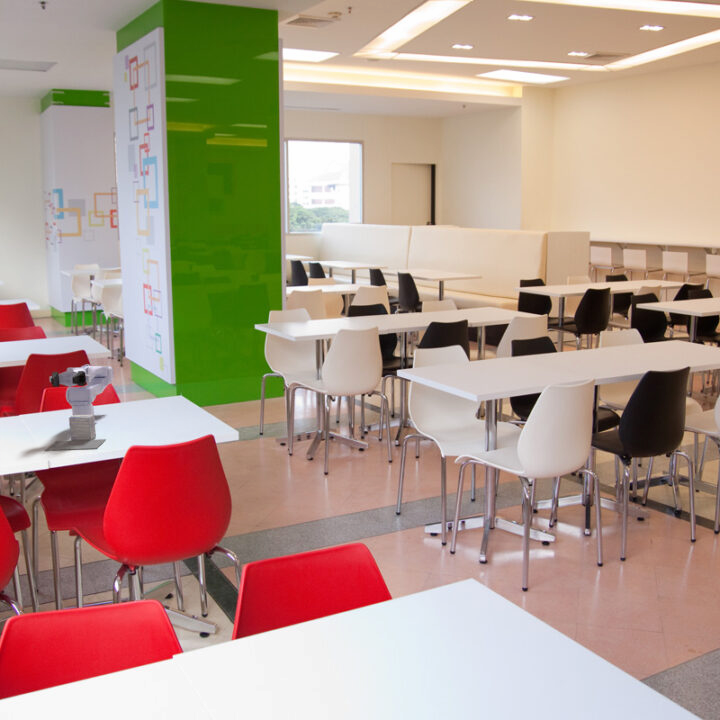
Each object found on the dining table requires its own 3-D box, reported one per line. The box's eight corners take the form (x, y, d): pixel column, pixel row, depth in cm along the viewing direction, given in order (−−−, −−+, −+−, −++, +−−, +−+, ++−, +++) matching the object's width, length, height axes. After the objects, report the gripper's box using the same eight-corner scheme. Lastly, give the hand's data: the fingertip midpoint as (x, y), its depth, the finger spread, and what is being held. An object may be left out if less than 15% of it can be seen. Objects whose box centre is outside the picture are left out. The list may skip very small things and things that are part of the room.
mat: (56, 441, 302) (56, 441, 302) (106, 440, 303) (105, 439, 303) (44, 450, 290) (44, 449, 290) (96, 448, 291) (96, 448, 291)
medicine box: (96, 437, 307) (94, 414, 306) (91, 440, 303) (89, 417, 301) (75, 437, 308) (73, 414, 307) (70, 440, 304) (68, 417, 302)
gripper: (54, 367, 316) (42, 370, 302) (93, 366, 316) (82, 369, 303) (55, 385, 316) (43, 389, 303) (94, 384, 317) (83, 388, 303)
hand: (62, 380), depth 303 cm, fingers open, 7 cm apart
